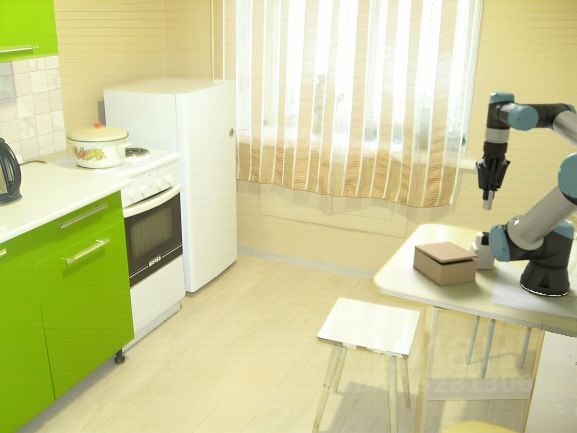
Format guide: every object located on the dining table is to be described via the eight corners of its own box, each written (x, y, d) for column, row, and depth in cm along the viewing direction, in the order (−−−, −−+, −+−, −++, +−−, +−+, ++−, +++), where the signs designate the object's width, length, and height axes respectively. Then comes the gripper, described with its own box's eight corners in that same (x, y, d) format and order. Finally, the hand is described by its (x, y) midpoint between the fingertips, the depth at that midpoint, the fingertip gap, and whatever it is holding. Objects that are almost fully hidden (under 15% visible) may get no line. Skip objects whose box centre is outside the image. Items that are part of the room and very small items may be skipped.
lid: (477, 257, 202) (478, 255, 201) (441, 262, 197) (441, 260, 197) (448, 243, 216) (449, 241, 216) (414, 247, 211) (414, 245, 211)
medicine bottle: (489, 261, 220) (493, 230, 216) (493, 270, 213) (498, 237, 209) (468, 260, 220) (472, 229, 216) (472, 268, 213) (476, 236, 209)
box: (475, 280, 204) (477, 261, 202) (439, 286, 199) (441, 266, 197) (446, 262, 218) (449, 243, 216) (412, 266, 213) (414, 248, 211)
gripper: (503, 137, 206) (494, 203, 214) (472, 139, 201) (464, 207, 209) (519, 141, 200) (509, 210, 208) (488, 144, 195) (478, 214, 203)
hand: (486, 208), depth 208 cm, fingers closed
